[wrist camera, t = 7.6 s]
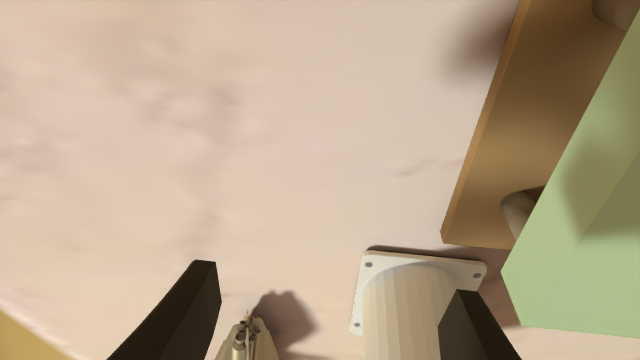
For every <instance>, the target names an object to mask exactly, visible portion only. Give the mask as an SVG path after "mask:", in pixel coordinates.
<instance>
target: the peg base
mask: <svg viewBox="0 0 640 360" xmlns="http://www.w3.org/2000/svg"><path fill="white" fill-rule="evenodd" d="M639 9H640V0H520V2H519V5H518V8H517V11H516V13H515V16H514V19H513V22H512V25H511V28H510V31H509V34H508V37H507V40H506V42H505V45H504V48H503V51H502V54H501V57H500V60H499V63H498V66H497V69H496V71H495V74H494V77H493V80H492V83H491V86H490V89H489V92H488V95H487V97H486V100H485V103H484V106H483V109H482V112H481V115H480V118H479V121H478V124H477V126H476V129H475V132H474V135H473V138H472V141H471V144H470V147H469V150H468V152H467V155H466V158H465V161H464V164H463V167H462V170H461V173H460V176H459V179H458V181H457V184H456V187H455V190H454V193H453V196H452V199H451V202H450V205H449V208H448V210H447V213H446V216H445V219H444V222H443V225H442V228H441V231H440V233H441V237H442V241H443V243H444V244H454V245H464V246H474V247H484V248H494V249H504V250H512V249H513V247H514V245H515V243H516V241H517V239H518V238H519V236H520V234H521V232H522V230H523V228H524V226H525V224H526V223H527V221H528V219H529V217H530V215H531V213H532V211H533V209H534V207H535V206H536V204H537V202H538V200H539V198H540V196H541V194H542V192H543V190H544V189H545V187H546V185H547V183H548V181H549V179H550V177H551V175H552V173H553V172H554V170H555V168H556V166H557V164H558V162H559V160H560V158H561V156H562V155H563V153H564V151H565V149H566V147H567V145H568V143H569V141H570V139H571V138H572V136H573V134H574V132H575V130H576V128H577V126H578V124H579V123H580V121H581V119H582V117H583V115H584V113H585V111H586V109H587V107H588V106H589V104H590V102H591V100H592V98H593V96H594V94H595V92H596V90H597V89H598V87H599V85H600V83H601V81H602V79H603V77H604V75H605V73H606V72H607V70H608V68H609V66H610V64H611V62H612V60H613V58H614V56H615V55H616V53H617V51H618V49H619V47H620V45H621V43H622V41H623V39H624V38H625V36H626V34H627V32H628V30H629V28H630V26H631V24H632V23H633V21H634V19H635V17H636V15H637V13H638V11H639Z"/></svg>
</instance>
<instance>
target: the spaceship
mask: <svg viewBox="0 0 640 360" xmlns="http://www.w3.org/2000/svg"><path fill="white" fill-rule="evenodd" d="M215 360H279V356H278V353H277V351H276V348H275V345H274V343H273V340H272V337H271V334H270V332H269V330H267V329H266V327H265V324H264V322H263V320H262V318H261V317H260V318H258V317H257V316H252V317H250V319H249V315H248V310H247V312H246V316H245V317H244V320H242V321H241V322H240V324H236V325H234V326H233V327H232V329H231V331H230V333H229V335H228V337H227V339H226V340H225V341H223V343H222V345H221V347H220V350H219V352H218V354H217V356H216V358H215Z"/></svg>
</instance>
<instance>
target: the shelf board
mask: <svg viewBox="0 0 640 360" xmlns="http://www.w3.org/2000/svg"><path fill="white" fill-rule="evenodd" d="M501 275H502V277H503V280H504V282H505V285H506V288H507V290H508V293H509V295H510V298H511V300H512V303H513V305H514V308H515V311H516V313H517V316H518V318H519V321H520V323H521V326H527V327H536V328H545V329H555V330H564V331H573V332H583V333H592V334H601V335H611V336H620V337H629V338H640V9H639V11H638V13H637V15H636V17H635V19H634V21H633V23H632V24H631V26H630V28H629V30H628V32H627V34H626V36H625V38H624V39H623V41H622V43H621V45H620V47H619V49H618V51H617V53H616V55H615V56H614V58H613V60H612V62H611V64H610V66H609V68H608V70H607V72H606V73H605V75H604V77H603V79H602V81H601V83H600V85H599V87H598V89H597V90H596V92H595V94H594V96H593V98H592V100H591V102H590V104H589V106H588V107H587V109H586V111H585V113H584V115H583V117H582V119H581V121H580V123H579V124H578V126H577V128H576V130H575V132H574V134H573V136H572V138H571V139H570V141H569V143H568V145H567V147H566V149H565V151H564V153H563V155H562V156H561V158H560V160H559V162H558V164H557V166H556V168H555V170H554V172H553V173H552V175H551V177H550V179H549V181H548V183H547V185H546V187H545V189H544V190H543V192H542V194H541V196H540V198H539V200H538V202H537V204H536V206H535V207H534V209H533V211H532V213H531V215H530V217H529V219H528V221H527V223H526V224H525V226H524V228H523V230H522V232H521V234H520V236H519V238H518V239H517V241H516V243H515V245H514V247H513V249H512V251H511V253H510V255H509V256H508V258H507V260H506V262H505V264H504V266H503V268H502V270H501Z"/></svg>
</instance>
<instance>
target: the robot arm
mask: <svg viewBox="0 0 640 360" xmlns="http://www.w3.org/2000/svg"><path fill="white" fill-rule="evenodd" d="M368 262H371V263H368ZM486 272H487V267H486V264H485V263H484V262H481V261H472V260H462V259H452V258H442V257H432V256H423V255H413V254H403V253H393V252H383V251H373V250H368V251H365V252H364V253H363V255H362V260H361V266H360V271H359V277H358V283H357V288H356V294H355V299H354V305H353V311H352V316H351V322H350V329H349V331H350V333H351V334H353V335H358V336H362V360H522V359H521V358H520V356H519V355H518V353H517V352H516V351H515V349H514V348H513V346H512V344H511V343H510V341H509V340H508V338H507V337H506V335H505V334H504V332H503V331H502V329H501V328H500V326H499V324H498V323H497V321H496V320H495V318H494V316H493V315H492V313H491V312H490V310H489V308H488V307H487V305H486V304H485V302H484V300H483V299H482V297H481V296H480V294H479V293H478V292H477V290H478V288H479V286H480V284H481V282H482V280H483V278H484V276H485V274H486ZM475 273H476V274H475ZM221 303H222V301H221V294H220V287H219V281H218V274H217V268H216V262H212V261H203V260H194V261H193V262H192V263H191V264H190V265H189V267H188V268H187V269H186V271H185V272H184V273H183V274H182V276H181V277H180V278H179V279H178V281H177V282H176V283H175V284H174V286H173V287H172V288H171V289H170V291H169V292H168V293H167V294H166V295H165V297H164V298H163V299H162V300H161V301H160V302H159V304H158V305H157V306H156V307H155V308H154V309H153V310H152V312H151V313H150V314H149V315H148V316H147V317H146V318H145V320H144V321H143V322H142V323H141V324H140V325H139V326H138V327H137V328H136V329H135V331H134V332H133V333H132V334H131V335H130V336H129V337H128V338H127V339H126V340H125V341H124V342H123V343H122V344H121V345H120V346H119V347H118V348H117V349H116V350H115V351H114V352H113V353H112V355H111V356H110V357H109V358H108V359H106V360H204V359H205V356H206V353H207V351H208V348H209V345H210V342H211V340H212V337H213V334H214V330H215V326H216V323H217V319H218V315H219V311H220V307H221Z"/></svg>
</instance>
